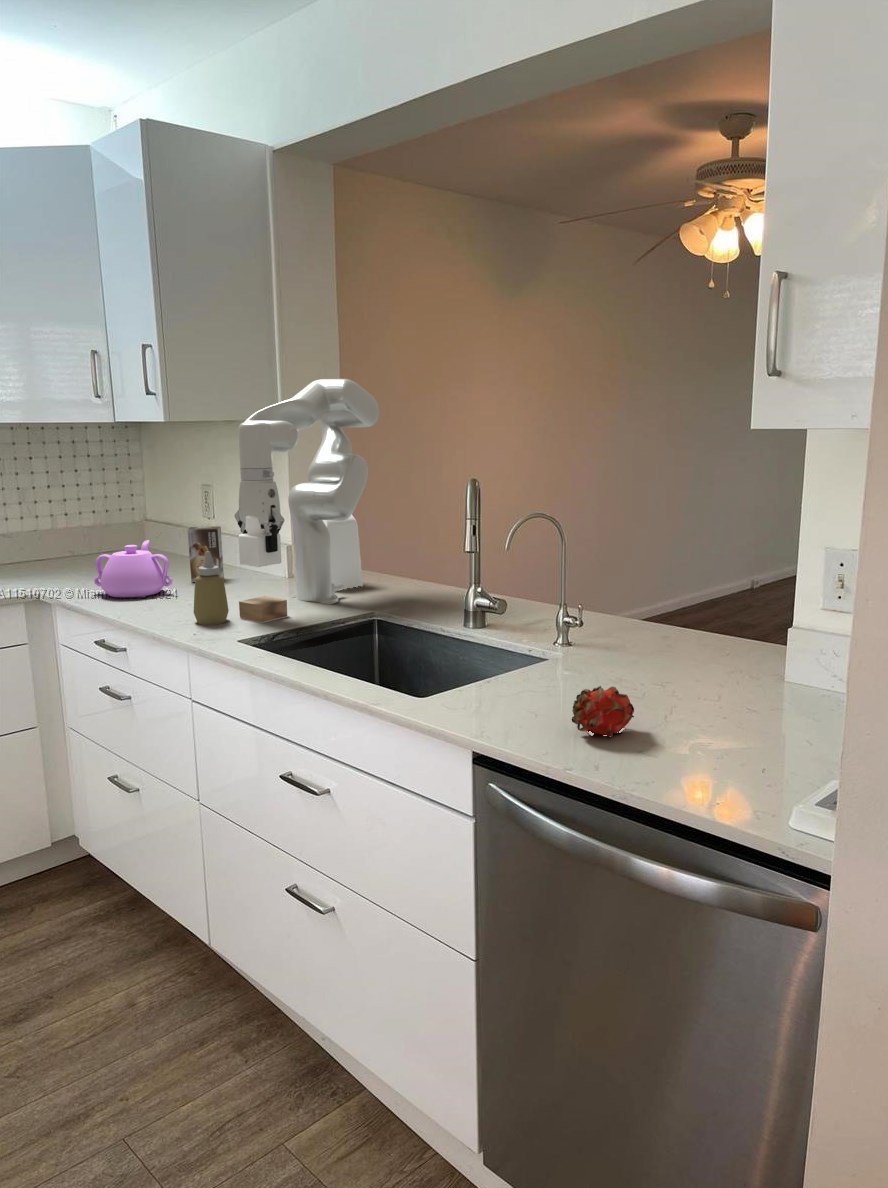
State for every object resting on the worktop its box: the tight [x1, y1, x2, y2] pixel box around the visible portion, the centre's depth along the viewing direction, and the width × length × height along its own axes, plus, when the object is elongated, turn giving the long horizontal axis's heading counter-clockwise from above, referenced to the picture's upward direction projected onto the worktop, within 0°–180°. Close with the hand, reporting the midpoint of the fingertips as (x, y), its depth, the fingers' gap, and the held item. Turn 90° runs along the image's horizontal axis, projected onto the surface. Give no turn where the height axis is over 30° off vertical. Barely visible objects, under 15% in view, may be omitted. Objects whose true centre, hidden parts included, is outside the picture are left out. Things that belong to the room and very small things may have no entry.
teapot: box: [93, 539, 174, 598], centre depth 255 cm, size 22×22×14 cm
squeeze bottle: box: [193, 551, 229, 626], centre depth 214 cm, size 8×8×18 cm
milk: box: [323, 514, 364, 590], centre depth 261 cm, size 12×12×26 cm
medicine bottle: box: [238, 515, 282, 568], centre depth 216 cm, size 7×7×12 cm
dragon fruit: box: [571, 685, 635, 737], centre depth 144 cm, size 8×8×12 cm
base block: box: [238, 595, 288, 623], centre depth 220 cm, size 8×8×4 cm
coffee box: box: [187, 525, 225, 583], centre depth 272 cm, size 9×6×16 cm
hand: (260, 549), depth 217 cm, fingers closed on medicine bottle, 7 cm apart
